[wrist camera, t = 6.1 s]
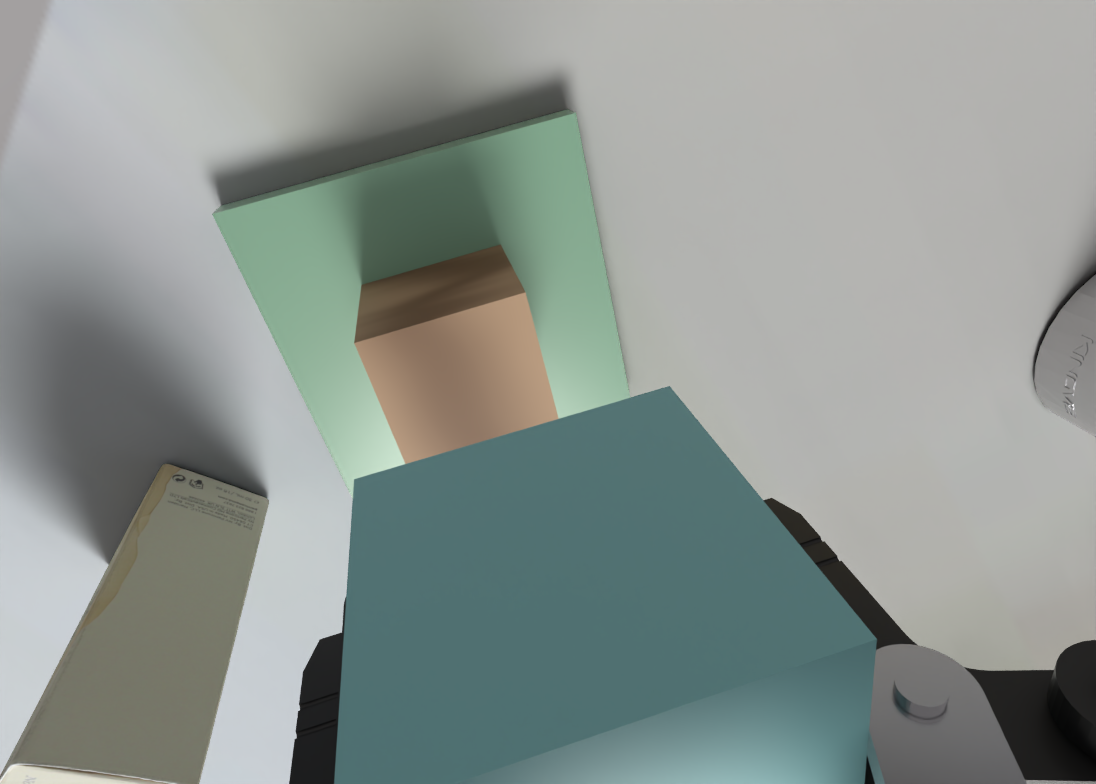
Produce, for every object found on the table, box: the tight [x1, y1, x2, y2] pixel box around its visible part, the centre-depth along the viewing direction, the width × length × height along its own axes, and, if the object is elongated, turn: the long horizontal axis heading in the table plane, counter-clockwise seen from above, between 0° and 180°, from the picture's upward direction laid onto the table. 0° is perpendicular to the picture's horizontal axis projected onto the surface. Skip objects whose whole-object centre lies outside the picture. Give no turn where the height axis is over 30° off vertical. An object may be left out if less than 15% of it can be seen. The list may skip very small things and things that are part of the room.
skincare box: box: [0, 464, 269, 784], centre depth 22 cm, size 6×4×12 cm
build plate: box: [212, 109, 630, 498], centre depth 25 cm, size 12×12×1 cm
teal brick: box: [334, 386, 877, 784], centre depth 9 cm, size 5×5×5 cm
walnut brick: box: [354, 244, 559, 464], centre depth 22 cm, size 5×5×5 cm
